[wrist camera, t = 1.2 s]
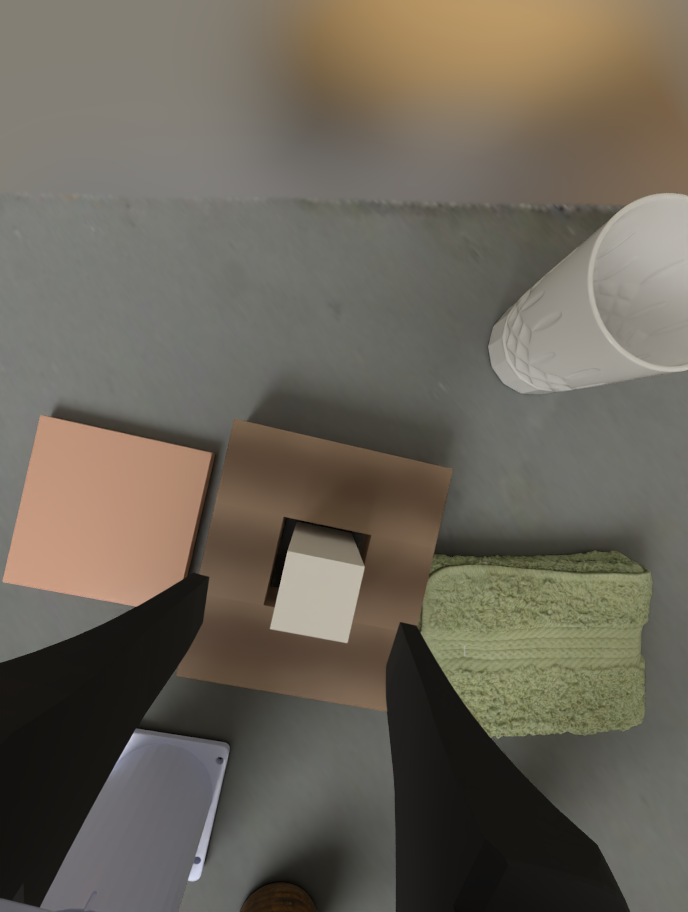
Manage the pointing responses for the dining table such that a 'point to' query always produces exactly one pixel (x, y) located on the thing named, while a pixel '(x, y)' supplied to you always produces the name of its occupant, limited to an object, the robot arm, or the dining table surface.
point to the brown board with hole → (256, 548)
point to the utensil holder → (279, 899)
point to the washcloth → (541, 639)
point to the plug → (319, 584)
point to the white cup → (604, 307)
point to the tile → (107, 513)
